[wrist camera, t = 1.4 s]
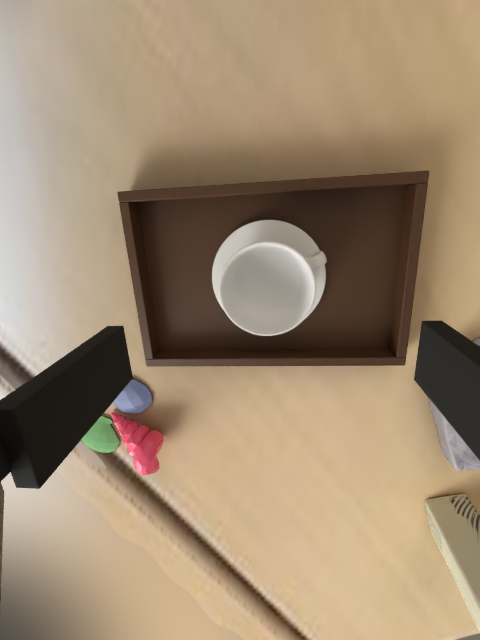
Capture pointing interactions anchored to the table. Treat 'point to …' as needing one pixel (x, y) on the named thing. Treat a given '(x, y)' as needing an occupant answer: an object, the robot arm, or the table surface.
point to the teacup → (268, 277)
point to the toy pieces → (128, 430)
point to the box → (459, 544)
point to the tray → (325, 230)
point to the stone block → (454, 441)
